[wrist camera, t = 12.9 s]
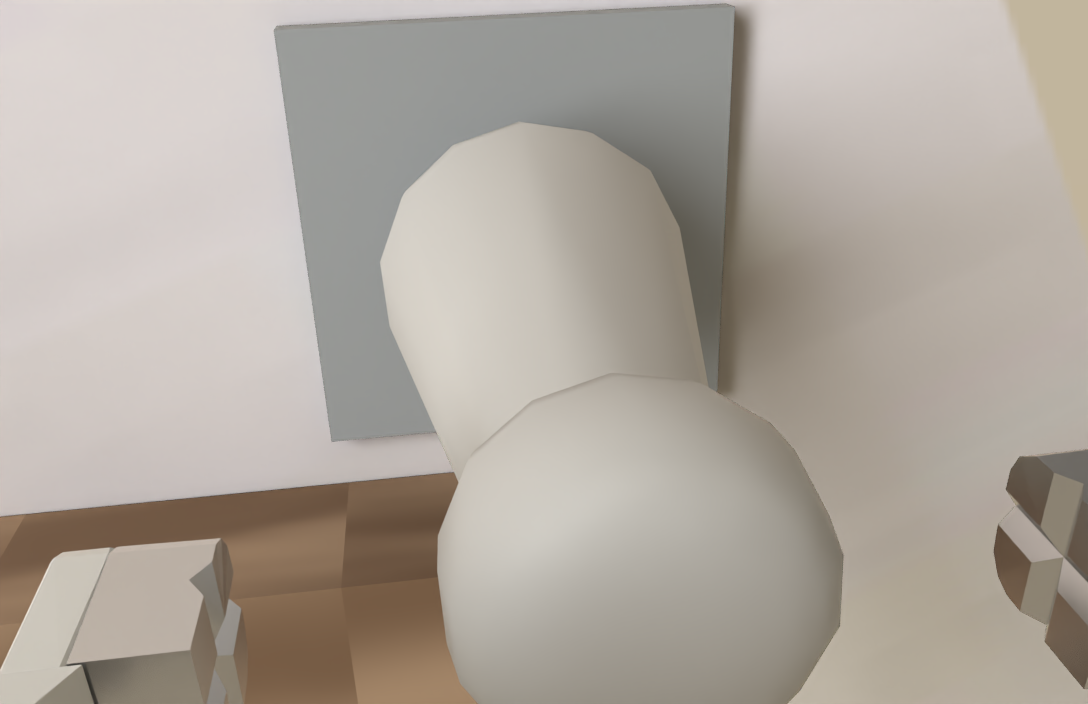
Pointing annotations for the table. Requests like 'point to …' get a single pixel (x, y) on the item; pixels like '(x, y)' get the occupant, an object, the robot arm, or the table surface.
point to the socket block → (290, 582)
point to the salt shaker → (595, 443)
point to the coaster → (472, 110)
